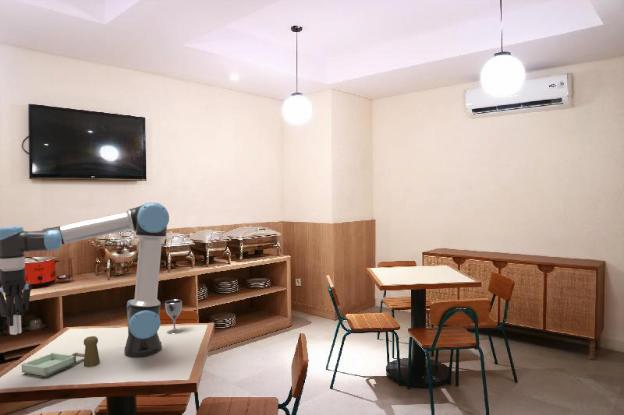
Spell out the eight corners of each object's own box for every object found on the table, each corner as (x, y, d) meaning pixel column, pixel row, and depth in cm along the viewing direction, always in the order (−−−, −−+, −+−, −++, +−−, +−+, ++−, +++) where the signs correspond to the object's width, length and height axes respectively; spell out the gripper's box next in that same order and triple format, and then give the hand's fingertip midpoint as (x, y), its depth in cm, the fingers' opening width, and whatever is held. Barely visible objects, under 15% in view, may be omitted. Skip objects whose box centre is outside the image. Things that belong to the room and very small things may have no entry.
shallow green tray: (76, 363, 175) (75, 356, 175) (46, 376, 163) (45, 368, 163) (52, 359, 180) (52, 352, 180) (21, 372, 168) (21, 364, 168)
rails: (94, 356, 185) (94, 355, 185) (44, 378, 163) (44, 376, 163) (75, 354, 189) (75, 352, 189) (23, 375, 167) (23, 373, 167)
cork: (93, 367, 173) (92, 339, 173) (79, 366, 174) (78, 339, 174) (103, 361, 179) (102, 334, 179) (90, 360, 180) (89, 334, 180)
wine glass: (168, 329, 220) (167, 300, 220) (184, 328, 221) (183, 299, 221) (164, 334, 213) (163, 303, 212) (181, 333, 213) (180, 303, 213)
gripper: (24, 265, 167) (27, 327, 167) (-15, 272, 153) (-12, 338, 154) (38, 266, 164) (41, 328, 164) (-1, 272, 151) (3, 340, 151)
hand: (15, 333), depth 159 cm, fingers closed
